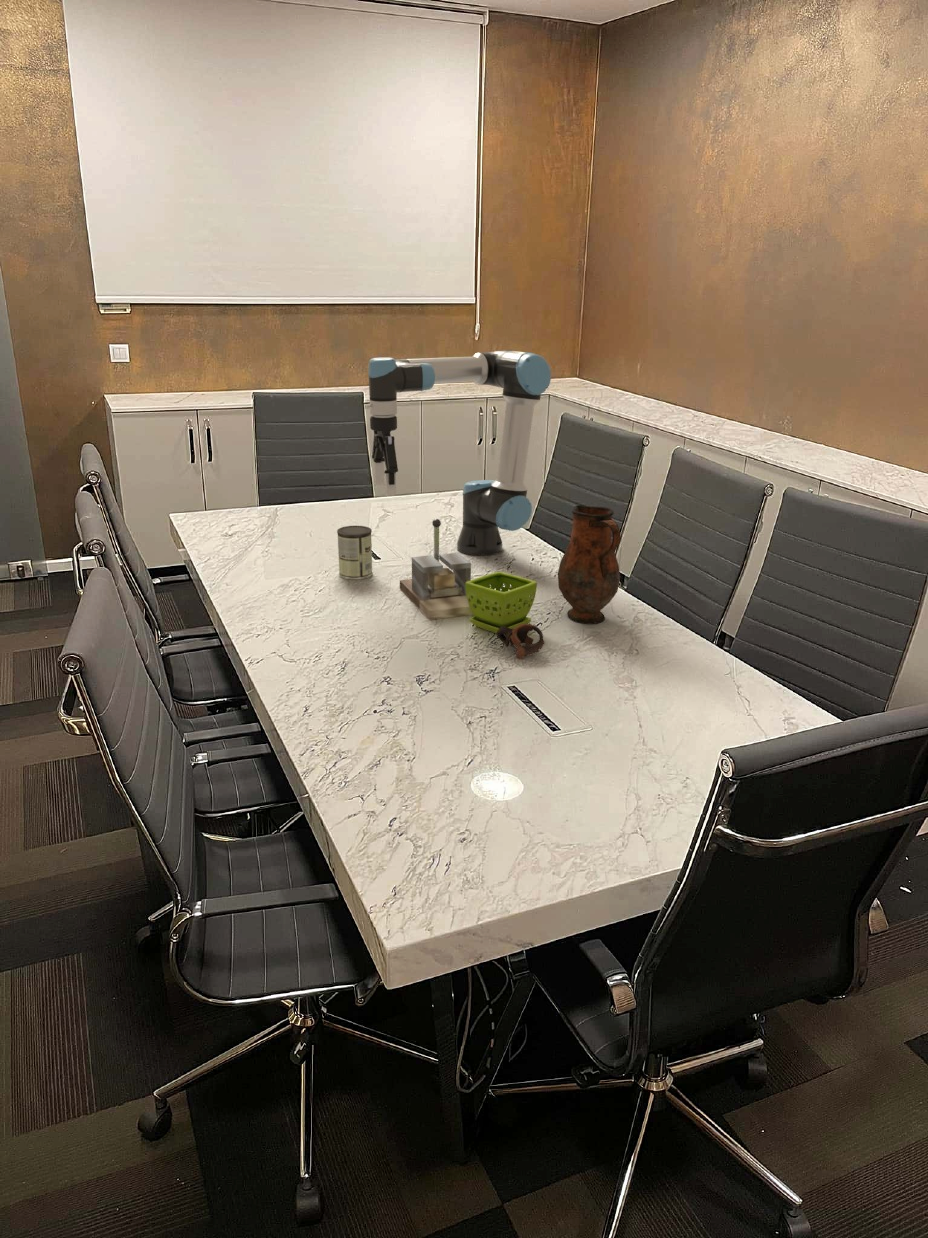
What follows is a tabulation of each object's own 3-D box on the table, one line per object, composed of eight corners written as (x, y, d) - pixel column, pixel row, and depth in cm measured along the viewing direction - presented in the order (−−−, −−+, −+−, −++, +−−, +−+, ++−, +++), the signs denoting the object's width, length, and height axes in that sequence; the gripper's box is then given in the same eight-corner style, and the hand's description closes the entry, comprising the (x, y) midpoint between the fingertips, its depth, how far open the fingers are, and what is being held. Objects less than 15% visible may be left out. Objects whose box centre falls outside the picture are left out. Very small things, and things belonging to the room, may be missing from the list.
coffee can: (342, 568, 288) (341, 524, 283) (375, 570, 287) (374, 526, 282) (335, 579, 278) (333, 533, 273) (368, 580, 277) (368, 535, 272)
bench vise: (451, 582, 277) (451, 544, 272) (484, 613, 253) (485, 571, 249) (399, 588, 271) (399, 548, 267) (429, 619, 248) (429, 577, 244)
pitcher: (596, 603, 262) (603, 499, 251) (637, 629, 244) (646, 518, 233) (543, 610, 256) (549, 504, 245) (581, 637, 238) (589, 524, 227)
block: (447, 587, 265) (447, 567, 263) (454, 594, 260) (454, 573, 258) (427, 589, 263) (427, 569, 261) (434, 596, 258) (434, 576, 256)
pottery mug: (543, 646, 233) (550, 626, 227) (533, 674, 227) (541, 654, 221) (498, 631, 234) (504, 610, 228) (487, 658, 228) (493, 638, 222)
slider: (449, 583, 267) (450, 516, 260) (461, 594, 259) (462, 525, 252) (420, 586, 264) (419, 519, 257) (431, 597, 256) (431, 528, 249)
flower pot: (537, 626, 245) (539, 581, 240) (502, 641, 235) (504, 594, 230) (497, 613, 253) (498, 569, 249) (462, 626, 244) (463, 581, 239)
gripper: (360, 409, 268) (362, 481, 276) (381, 423, 246) (382, 501, 254) (385, 408, 270) (387, 479, 278) (408, 421, 248) (409, 499, 256)
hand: (385, 490), depth 266 cm, fingers open, 13 cm apart
